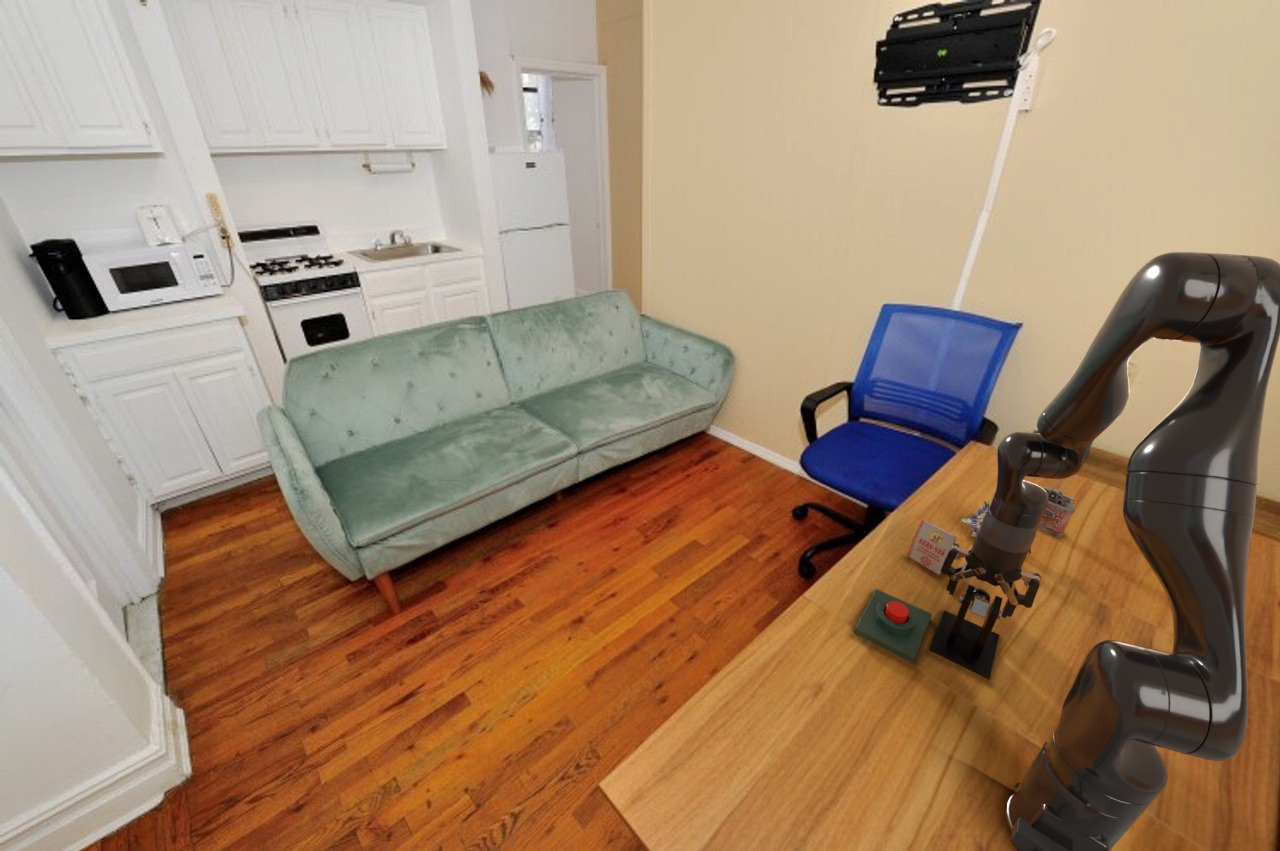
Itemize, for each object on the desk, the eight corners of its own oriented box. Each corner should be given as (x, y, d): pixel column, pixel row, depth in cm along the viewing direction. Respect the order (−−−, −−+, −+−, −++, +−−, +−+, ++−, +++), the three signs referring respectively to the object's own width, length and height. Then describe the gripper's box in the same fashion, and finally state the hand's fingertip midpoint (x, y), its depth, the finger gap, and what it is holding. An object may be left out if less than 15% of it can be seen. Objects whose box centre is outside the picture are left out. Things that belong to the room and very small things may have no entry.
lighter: (1020, 518, 120) (1035, 484, 116) (1029, 514, 121) (1044, 480, 117) (1057, 539, 114) (1074, 503, 109) (1066, 534, 115) (1083, 499, 110)
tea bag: (916, 552, 111) (927, 516, 106) (947, 570, 106) (960, 533, 101) (906, 559, 109) (917, 522, 104) (938, 577, 104) (951, 540, 99)
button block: (911, 666, 86) (917, 651, 84) (853, 636, 92) (857, 621, 90) (929, 622, 94) (934, 607, 93) (873, 596, 100) (878, 581, 98)
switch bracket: (942, 614, 96) (959, 568, 90) (997, 639, 91) (1019, 591, 85) (928, 653, 89) (945, 606, 83) (987, 683, 83) (1010, 634, 78)
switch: (967, 599, 96) (973, 584, 95) (986, 607, 94) (992, 592, 94) (965, 612, 85) (972, 594, 85) (987, 621, 83) (994, 603, 83)
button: (903, 626, 89) (905, 620, 88) (882, 616, 91) (884, 610, 91) (909, 614, 92) (911, 607, 91) (888, 604, 94) (890, 597, 93)
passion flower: (974, 564, 115) (950, 518, 114) (998, 538, 119) (976, 494, 119) (1027, 569, 104) (1002, 519, 104) (1051, 541, 109) (1027, 492, 108)
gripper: (954, 531, 89) (930, 597, 96) (1054, 566, 81) (1020, 636, 88) (962, 510, 94) (939, 574, 101) (1057, 541, 86) (1025, 609, 93)
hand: (977, 603), depth 95 cm, fingers open, 8 cm apart
